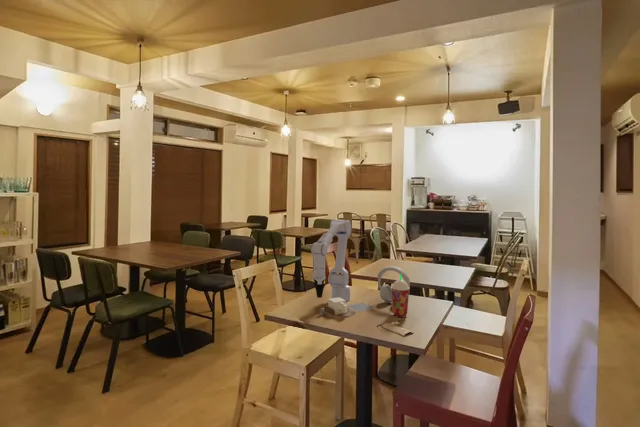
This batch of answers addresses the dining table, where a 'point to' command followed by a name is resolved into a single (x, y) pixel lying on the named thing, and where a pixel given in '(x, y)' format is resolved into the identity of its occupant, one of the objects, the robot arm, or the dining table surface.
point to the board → (360, 307)
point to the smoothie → (400, 298)
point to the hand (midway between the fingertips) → (319, 295)
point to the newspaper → (394, 328)
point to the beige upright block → (338, 305)
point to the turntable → (331, 313)
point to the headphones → (386, 289)
